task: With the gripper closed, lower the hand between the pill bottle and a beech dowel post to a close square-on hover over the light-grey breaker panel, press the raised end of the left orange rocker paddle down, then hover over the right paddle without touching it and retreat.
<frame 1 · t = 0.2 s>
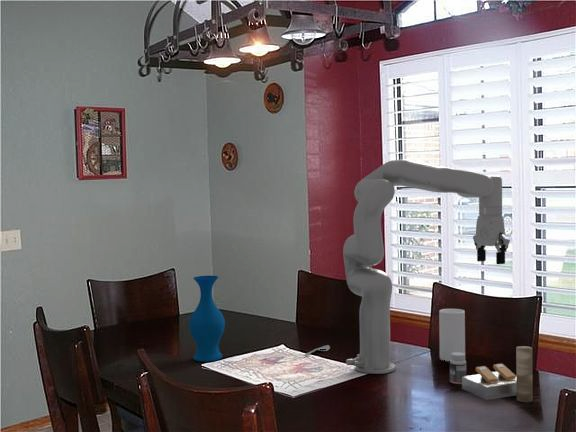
hand: (490, 262, 224), 31 cm above the table, fingers open, 9 cm apart
white tall cylinder: (452, 359, 220), on the table
dowel post: (524, 399, 177), on the table
pill bottle: (458, 382, 194), on the table
paddle a: (486, 374, 183), point 5 cm above the table, hinge at 20.0°
spoon: (310, 356, 230), on the table
breaker panel: (495, 390, 185), on the table
paddle b: (504, 371, 186), point 5 cm above the table, hinge at 20.0°
vase: (208, 359, 227), on the table
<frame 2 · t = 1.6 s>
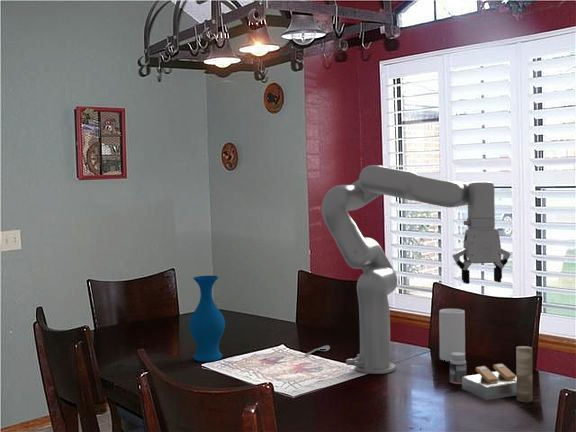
hand: (481, 282, 193), 29 cm above the table, fingers open, 9 cm apart
nothing on the table moved.
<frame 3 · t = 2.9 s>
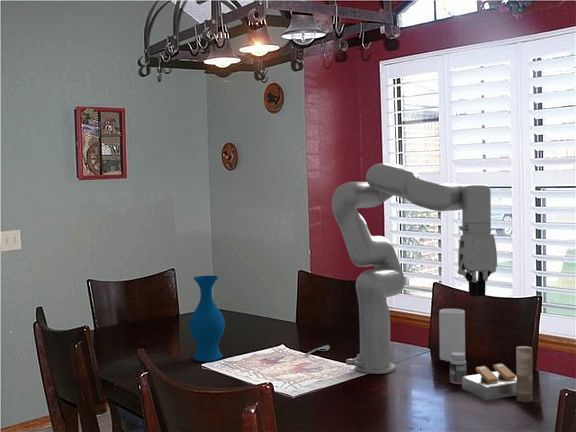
hand: (477, 295, 183), 27 cm above the table, fingers closed
nothing on the table moved.
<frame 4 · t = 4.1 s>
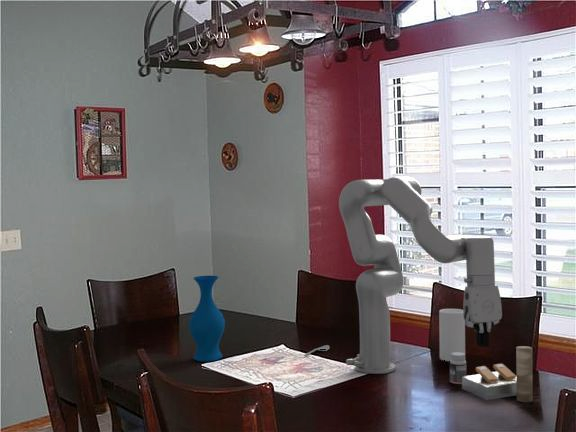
hand: (482, 345, 185), 13 cm above the table, fingers closed
nothing on the table moved.
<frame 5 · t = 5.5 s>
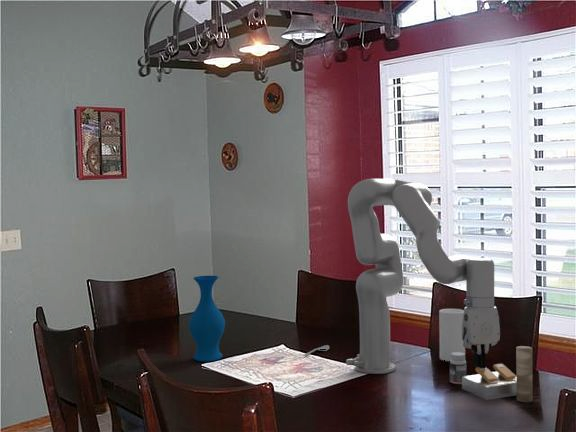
hand: (479, 366, 186), 6 cm above the table, fingers closed
paddle a: (486, 374, 183), point 5 cm above the table, hinge at 18.5°, touching gripper
everything else where it was.
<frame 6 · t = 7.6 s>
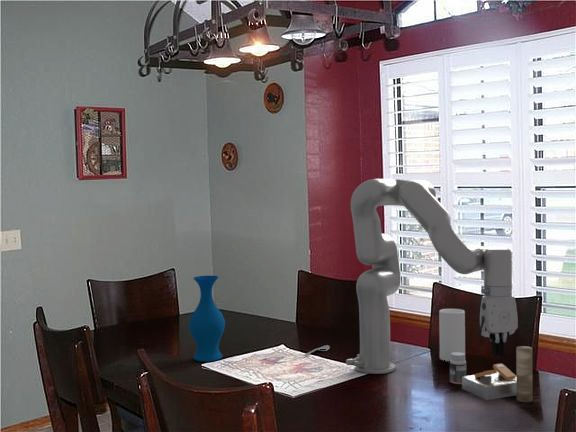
hand: (498, 355, 188), 9 cm above the table, fingers closed
paddle a: (485, 373, 184), point 5 cm above the table, hinge at -23.9°, touching breaker panel
everything else where it was.
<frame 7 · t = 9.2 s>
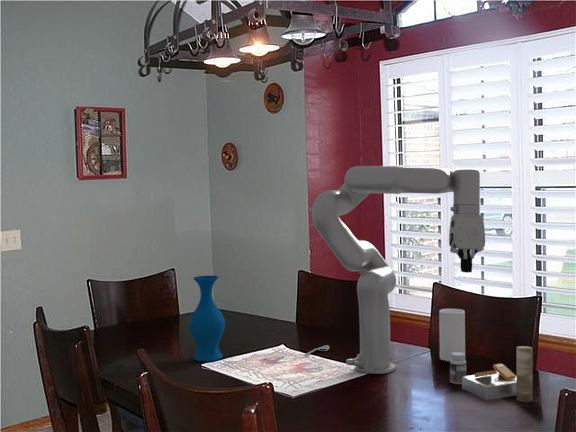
hand: (466, 271, 197), 32 cm above the table, fingers closed
paddle a: (485, 373, 184), point 5 cm above the table, hinge at -20.4°
everything else where it was.
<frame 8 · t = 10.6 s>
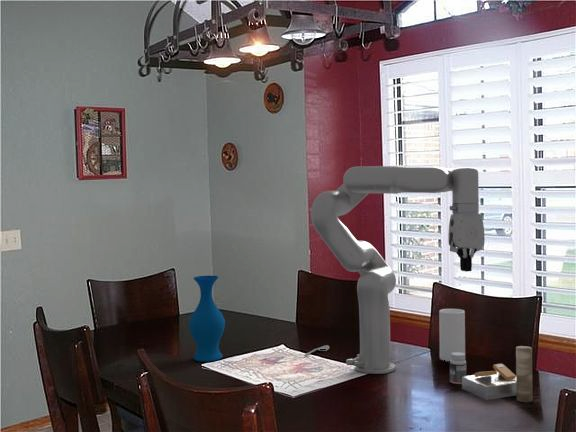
hand: (466, 270, 197), 32 cm above the table, fingers closed
paddle a: (485, 373, 184), point 5 cm above the table, hinge at -18.0°
everything else where it was.
at the end: paddle a at -18° (first picture: +20°); paddle b at +20° (first picture: +20°); pill bottle moved 0.2 cm from its start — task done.
